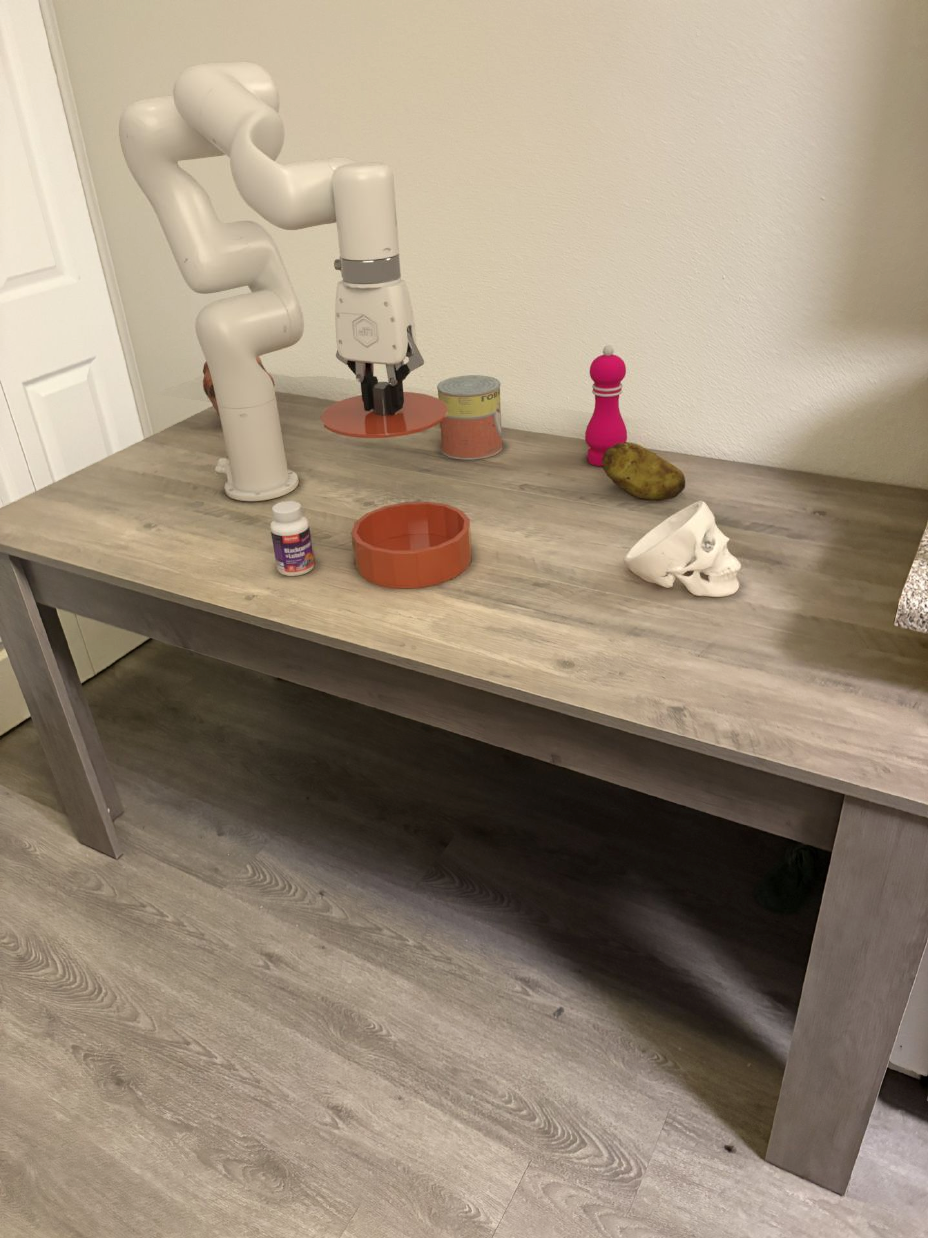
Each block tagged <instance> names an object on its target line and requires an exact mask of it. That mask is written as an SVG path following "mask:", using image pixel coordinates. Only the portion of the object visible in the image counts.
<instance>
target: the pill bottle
mask: <svg viewBox="0 0 928 1238" xmlns="http://www.w3.org/2000/svg"><path fill="white" fill-rule="evenodd" d="M271 510H272V517H273V520H272V521H271V523H270V524H269V525H270V527H269V529H270V535H271V542H272V546H273V553H274V558H275V564H276V569H277V572H279V573H280V574H281V575H283V576H288V577H297V576H298V577H299V576H302V575H305V574H307V573H309V572H311V571H312V570H313V569H314V568H315V557H314V550H313V544H312V537H311V529H310V523H309V520H308V519H307V518H306V517H305V516H303V511H302V505H301V504H300V503H299V502H298V501H294V500H287V501H280V502H278V503H277V502H276V503H275V504H274V505H272V507H271Z"/></svg>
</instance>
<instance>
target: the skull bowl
mask: <svg viewBox="0 0 928 1238" xmlns="http://www.w3.org/2000/svg"><path fill="white" fill-rule="evenodd" d="M729 540H730V538H729V537H728V536H726V535H725V533H724V532H722V531H721V530H720V529H719V528H718V526H717V524H716V517H715V515H714V513H713V512H712V511H711V508H710V507H709V505H708V504H707V503H706V502H705V501H703V500H698V501H695V502H694V503H692V504H690V505H688V506H686V507H684V508H682V509H680V510H678V511H676V512H675V513H673V514H672V515H669V516H668V517H667V518H666V519H664V520H662V521H661V522H660V523H658V524H657V525H656V526H654V527H653V528H652V529H651V530H649V531H648V532H647V533H646V534H644V535H643V536H642V537H640V539H639V540H637V541H636V542H635V543H634V544H633V545H632V546H631V547H630V548H629V550H628V551H627V552H626V554H625V556H624V557H623V562H624V564H625V566H627V568H628V569H629V570H630V572H631V573H633V574H635V575H636V576H638V577H639V578H640V579H642V580H643V581H646V582H647V583H651V584H656V585H658V586H660V587H663V588H667V589H670V588H673V587H674V583H675V581H676V580H677V579H678V580H679V581H680V582H681V583H682V584H683V585H684V586H685V588H686V589H687V591H688V592H689V593H691V594H692V595H694V596H698V597H711V598H724V597H728V596H732V595H734V594H736V592H738V590H739V588H740V582H739V580H738V578H737V575H738V573H739V571H740V570H741V568H742V564H741V562H740V561H739V560H738V558H737V557H736V556H734V555H732V553H731V552H730V551H729V549H728V542H729ZM689 571H693V573H692V574H691V575H689V576H687V575H684V574H685V573H687V572H689ZM701 574H704V575H706V576H707V577H708V580H706V579H704V578H702V577H701Z"/></svg>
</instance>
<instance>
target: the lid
mask: <svg viewBox="0 0 928 1238" xmlns="http://www.w3.org/2000/svg"><path fill="white" fill-rule="evenodd" d="M388 384H389V381H378V382H377V383H374V384H372V385H371V393H372V404H373V409H371V410H370V411H365V410H364V402H363V401H362V394H360V395H355V396H351V397H347V398H343V399H341V400H339V401H337V402H334V403H331V405H329V406H328V407H326V408H325V409H324V410H323V411H322V412H321V415H320V423H321V425H322V426H323V427H324V429H326V430H327V431H329V432H331V433H333V434H336V435H341V436H345V437H349V438H357V439H358V438H359V439H360V438H361V439H385V438H395V437H403V436H407V435H408V436H409V435H412V434H416V433H420V432H423V431H425V430H429V429H432V428H434V427H435V426H437V425H440V422H442V421H443V420H444V419H445V418H446V416H447V412H448V410H447V406H446V404H445V403H444V402H443V401H441V400H440V399H438V397H435V396H432V395H430V394H426V393H420V392H411V391H403V394H404V404H403V408H402V409H400V410H399V411H397V412H396V413H394V414H389V413H388V411H387V400H386V389H385V388H386V386H387V385H388Z"/></svg>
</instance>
